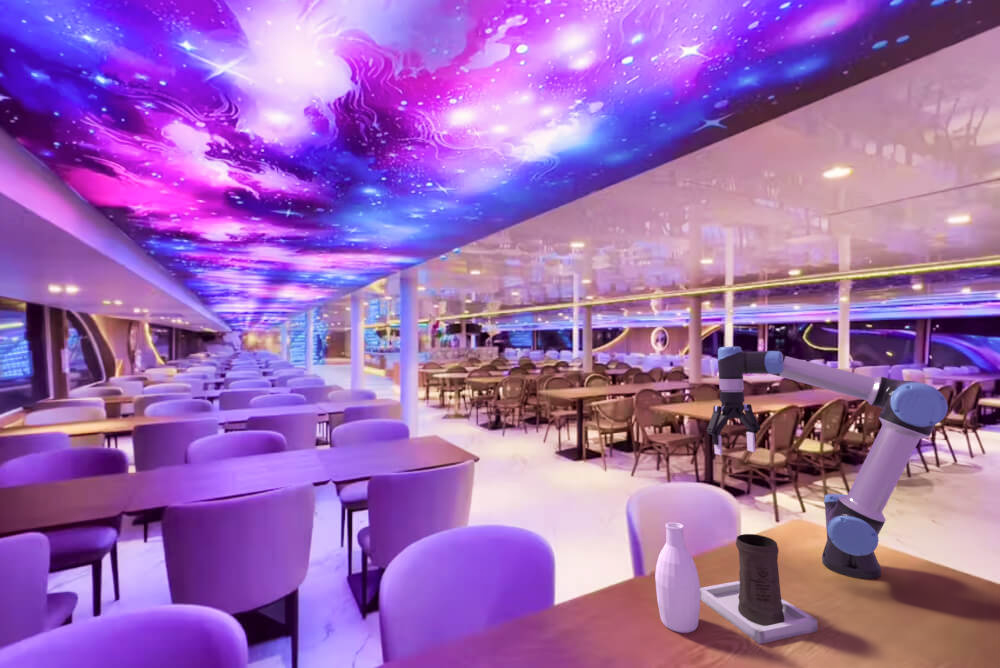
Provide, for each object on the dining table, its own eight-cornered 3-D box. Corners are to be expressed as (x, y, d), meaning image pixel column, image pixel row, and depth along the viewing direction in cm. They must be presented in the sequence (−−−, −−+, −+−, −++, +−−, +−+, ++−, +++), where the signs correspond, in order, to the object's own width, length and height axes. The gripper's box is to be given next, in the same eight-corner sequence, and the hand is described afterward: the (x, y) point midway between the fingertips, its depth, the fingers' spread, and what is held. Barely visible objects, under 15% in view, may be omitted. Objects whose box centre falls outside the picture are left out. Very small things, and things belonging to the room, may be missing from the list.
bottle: (681, 641, 111) (676, 536, 112) (647, 618, 120) (643, 522, 122) (711, 627, 116) (706, 527, 117) (676, 607, 126) (672, 515, 127)
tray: (749, 588, 135) (748, 579, 135) (817, 630, 113) (816, 619, 113) (698, 598, 130) (697, 588, 130) (759, 644, 109) (758, 632, 109)
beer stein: (794, 629, 113) (786, 545, 115) (749, 627, 114) (743, 544, 117) (766, 600, 128) (759, 527, 131) (726, 599, 129) (721, 527, 132)
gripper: (752, 388, 162) (756, 448, 161) (693, 391, 156) (696, 453, 154) (769, 390, 155) (773, 452, 153) (708, 393, 148) (712, 457, 147)
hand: (735, 452), depth 154 cm, fingers open, 13 cm apart
